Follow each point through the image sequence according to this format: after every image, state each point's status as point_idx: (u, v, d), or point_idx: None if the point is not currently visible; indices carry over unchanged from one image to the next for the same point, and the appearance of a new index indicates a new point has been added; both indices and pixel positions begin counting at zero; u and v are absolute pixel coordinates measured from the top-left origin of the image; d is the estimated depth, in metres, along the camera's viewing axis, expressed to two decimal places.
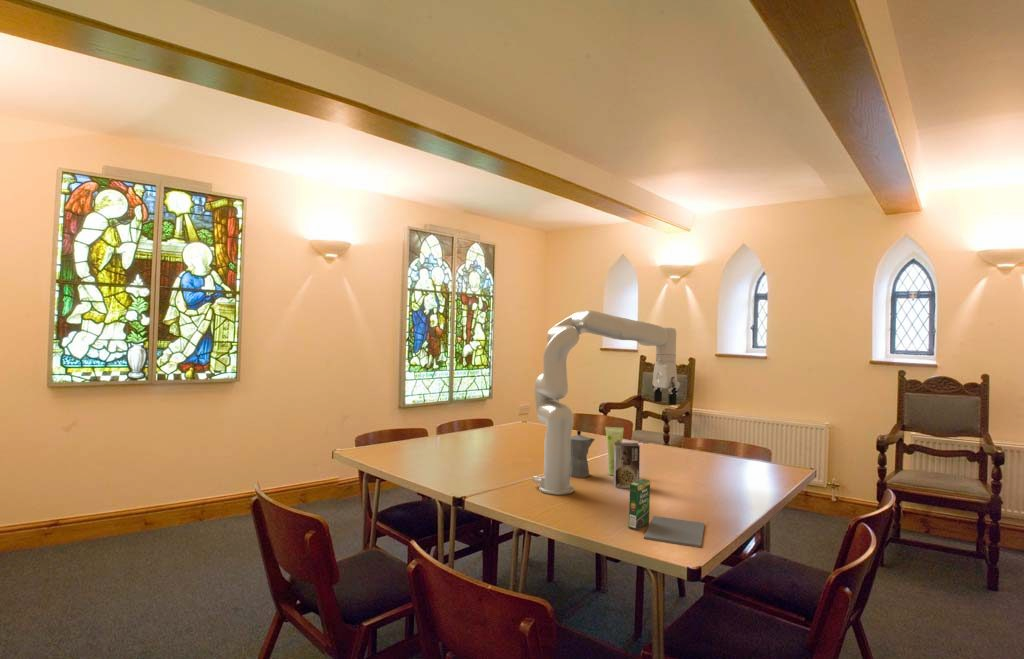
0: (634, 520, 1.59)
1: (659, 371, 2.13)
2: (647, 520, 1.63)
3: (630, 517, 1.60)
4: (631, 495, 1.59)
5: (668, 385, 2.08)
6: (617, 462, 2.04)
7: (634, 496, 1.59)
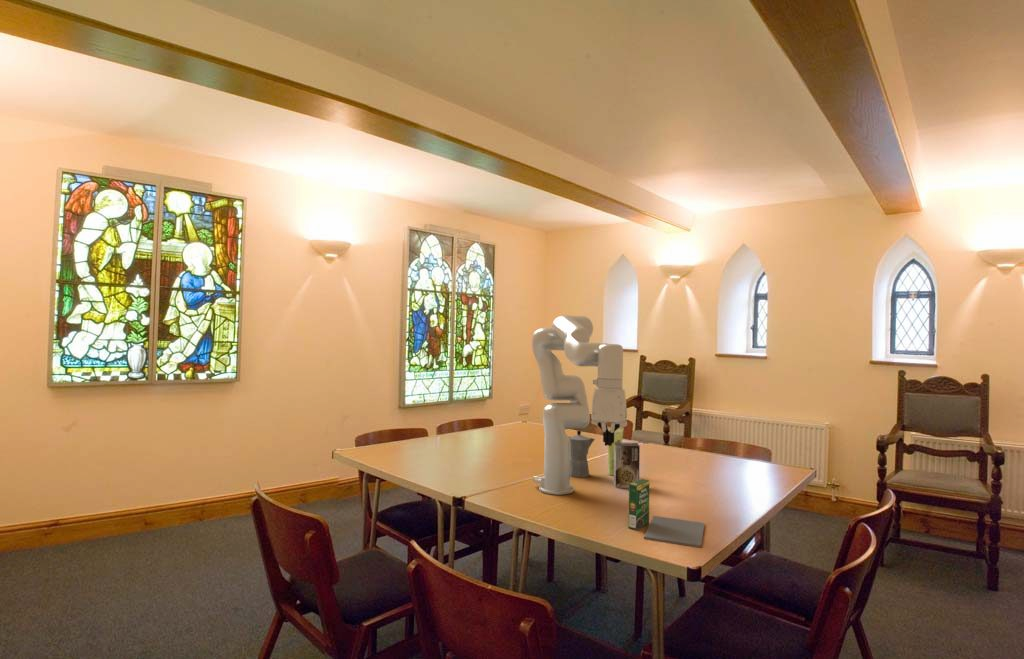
0: (634, 520, 1.59)
1: (606, 401, 1.64)
2: (647, 520, 1.63)
3: (629, 517, 1.60)
4: (630, 495, 1.59)
5: (624, 419, 1.62)
6: (617, 462, 2.04)
7: (633, 496, 1.59)
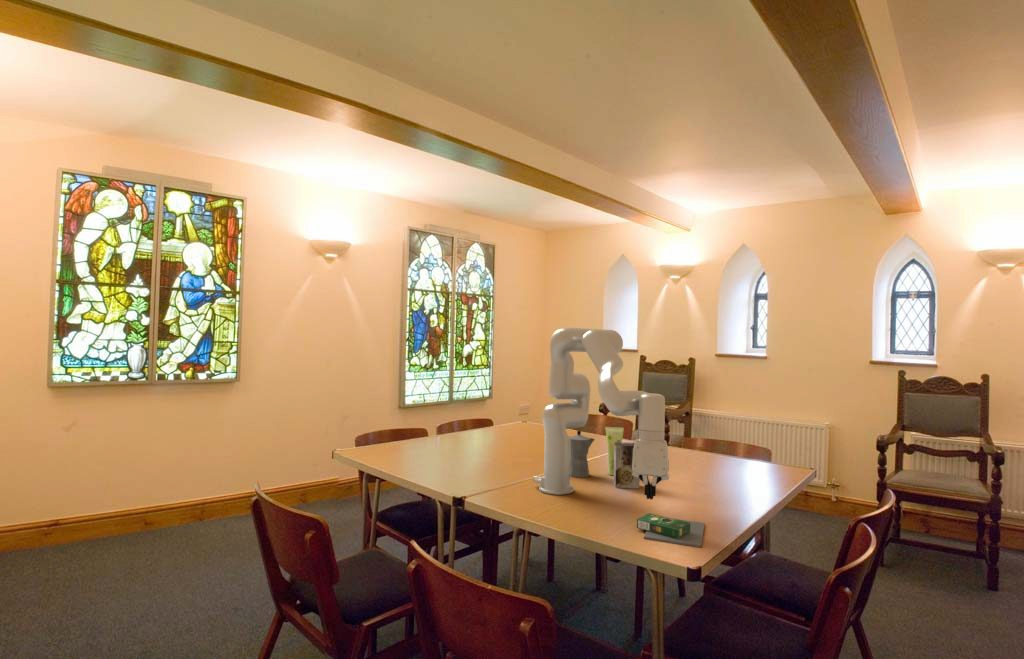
0: (645, 528, 1.56)
1: (648, 454, 1.59)
2: None
3: (647, 523, 1.56)
4: (668, 529, 1.52)
5: (667, 472, 1.57)
6: (617, 462, 2.04)
7: (667, 532, 1.52)
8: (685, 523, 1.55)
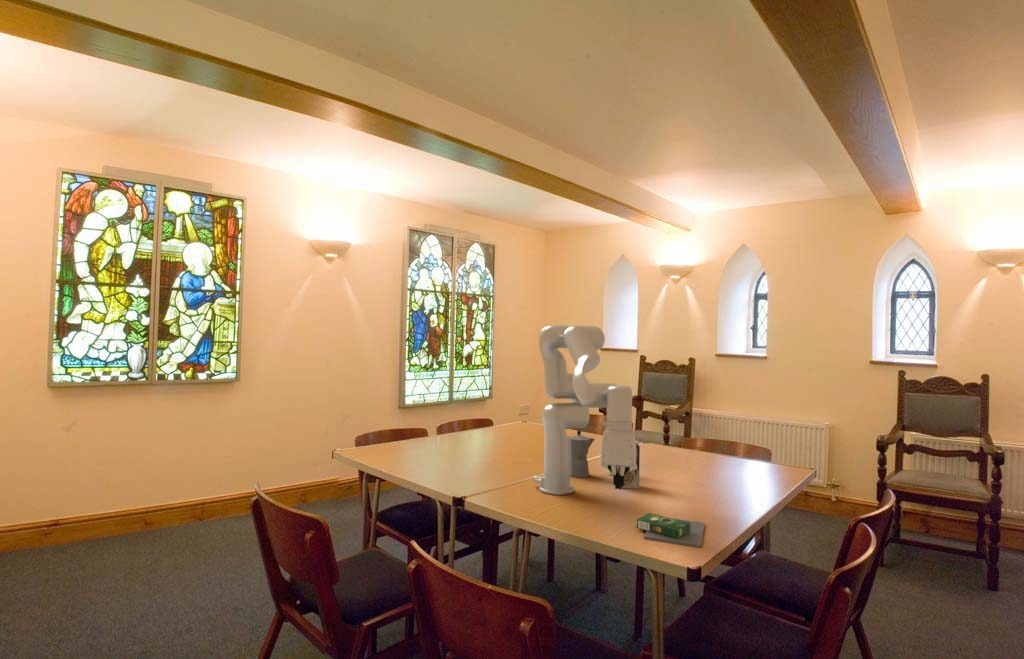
0: (645, 528, 1.56)
1: (616, 444, 1.62)
2: None
3: (647, 523, 1.56)
4: (667, 529, 1.52)
5: (634, 462, 1.61)
6: None
7: (667, 533, 1.52)
8: (685, 523, 1.55)
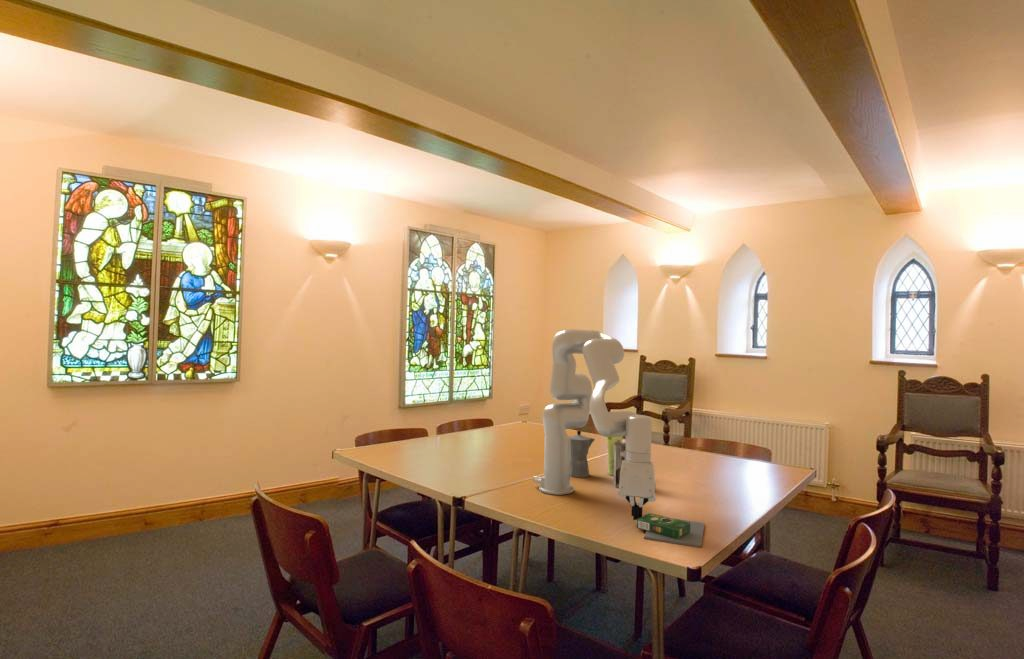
0: (645, 528, 1.56)
1: (635, 475, 1.60)
2: None
3: (647, 523, 1.56)
4: (667, 529, 1.52)
5: (653, 494, 1.59)
6: (617, 462, 2.04)
7: (667, 533, 1.52)
8: (685, 523, 1.55)
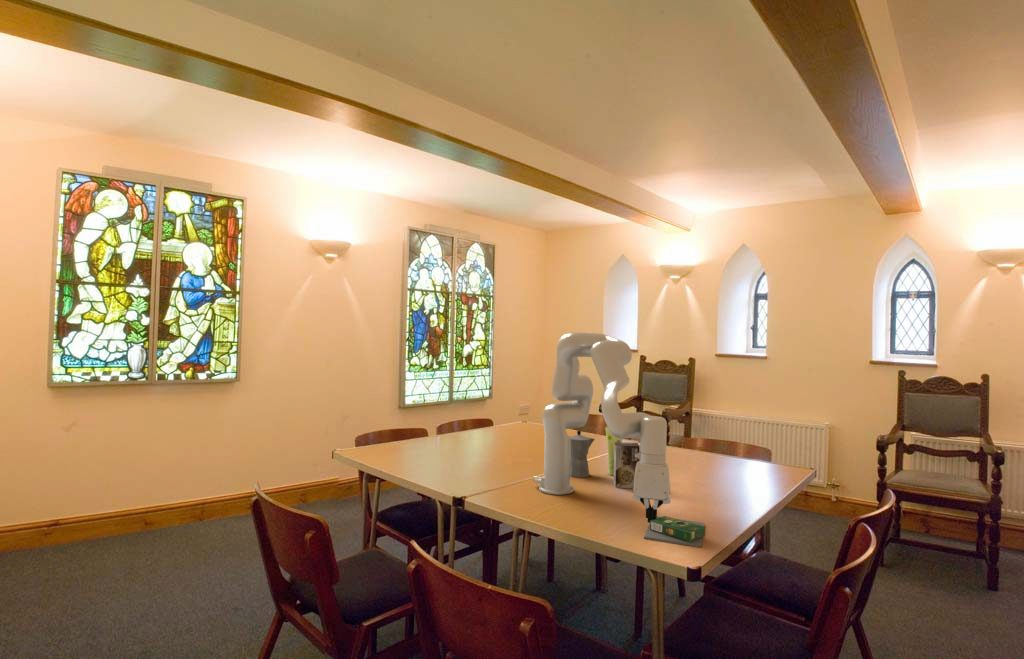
0: (657, 530, 1.55)
1: (650, 477, 1.58)
2: None
3: (659, 525, 1.54)
4: (680, 531, 1.50)
5: (668, 496, 1.57)
6: (617, 462, 2.04)
7: (679, 535, 1.50)
8: (699, 527, 1.52)
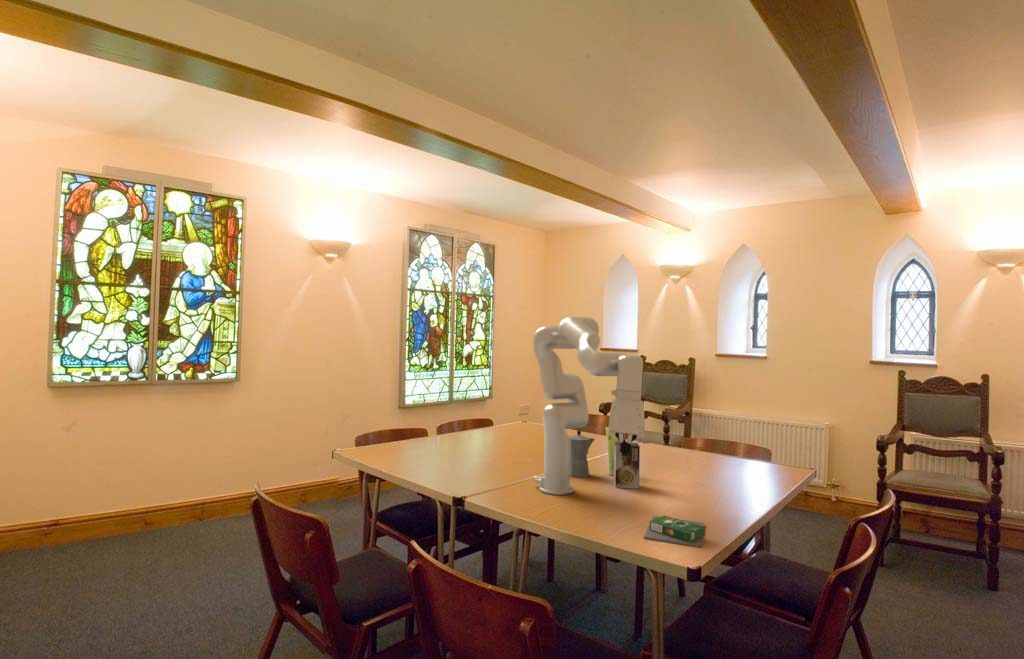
0: (657, 530, 1.55)
1: (625, 413, 1.64)
2: None
3: (659, 525, 1.54)
4: (680, 532, 1.50)
5: (642, 430, 1.63)
6: (617, 462, 2.04)
7: (679, 536, 1.50)
8: (699, 527, 1.52)
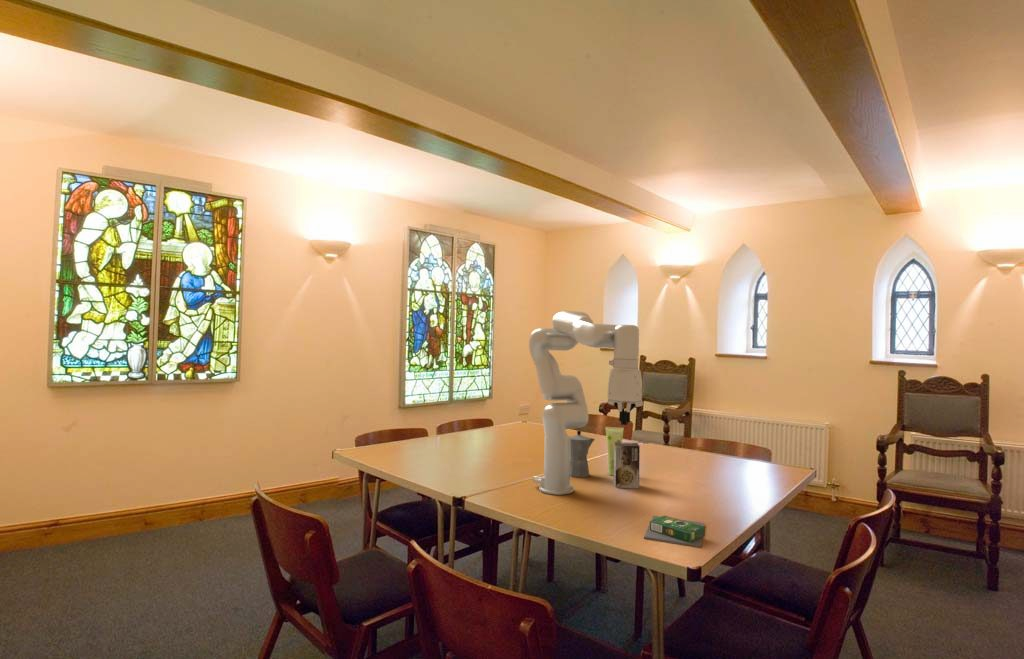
0: (657, 530, 1.55)
1: (623, 381, 1.66)
2: None
3: (659, 525, 1.54)
4: (680, 532, 1.50)
5: (640, 398, 1.65)
6: (617, 462, 2.04)
7: (679, 536, 1.50)
8: (699, 527, 1.52)
